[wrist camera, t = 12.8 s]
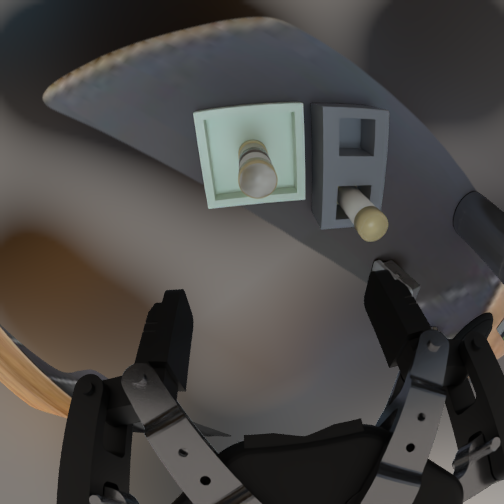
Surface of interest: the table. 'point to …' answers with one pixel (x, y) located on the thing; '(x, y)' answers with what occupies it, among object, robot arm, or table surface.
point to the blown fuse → (255, 170)
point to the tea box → (501, 329)
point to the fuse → (362, 213)
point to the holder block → (346, 157)
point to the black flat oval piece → (478, 326)
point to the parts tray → (245, 128)
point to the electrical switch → (395, 271)
